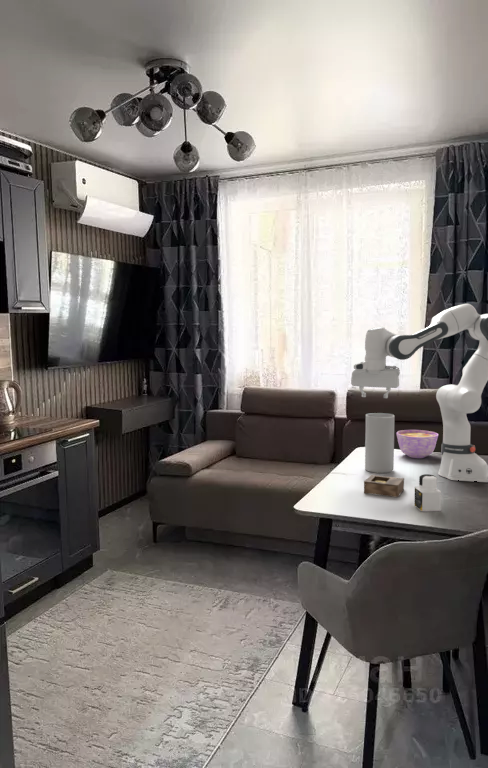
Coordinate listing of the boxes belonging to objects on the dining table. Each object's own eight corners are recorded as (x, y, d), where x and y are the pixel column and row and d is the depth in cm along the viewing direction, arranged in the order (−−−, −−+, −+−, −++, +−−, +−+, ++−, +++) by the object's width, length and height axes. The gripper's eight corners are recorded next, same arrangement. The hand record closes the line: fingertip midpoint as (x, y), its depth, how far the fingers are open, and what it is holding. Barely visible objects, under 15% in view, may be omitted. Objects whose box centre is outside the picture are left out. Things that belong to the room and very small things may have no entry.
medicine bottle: (414, 505, 211) (414, 473, 210) (433, 505, 212) (433, 472, 211) (421, 511, 204) (422, 478, 203) (441, 511, 205) (442, 477, 204)
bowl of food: (387, 454, 295) (388, 431, 294) (420, 450, 302) (421, 428, 301) (412, 462, 277) (412, 438, 276) (446, 458, 284) (447, 435, 283)
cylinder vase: (383, 465, 271) (384, 412, 268) (398, 472, 259) (400, 416, 256) (359, 468, 267) (360, 414, 264) (374, 474, 255) (375, 418, 253)
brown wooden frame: (403, 489, 232) (403, 478, 231) (397, 497, 222) (397, 485, 221) (371, 485, 237) (371, 474, 237) (363, 492, 228) (364, 481, 227)
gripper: (401, 365, 247) (400, 397, 249) (354, 364, 257) (353, 395, 258) (398, 366, 242) (397, 399, 243) (350, 365, 251) (349, 397, 252)
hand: (374, 397), depth 251 cm, fingers open, 8 cm apart
